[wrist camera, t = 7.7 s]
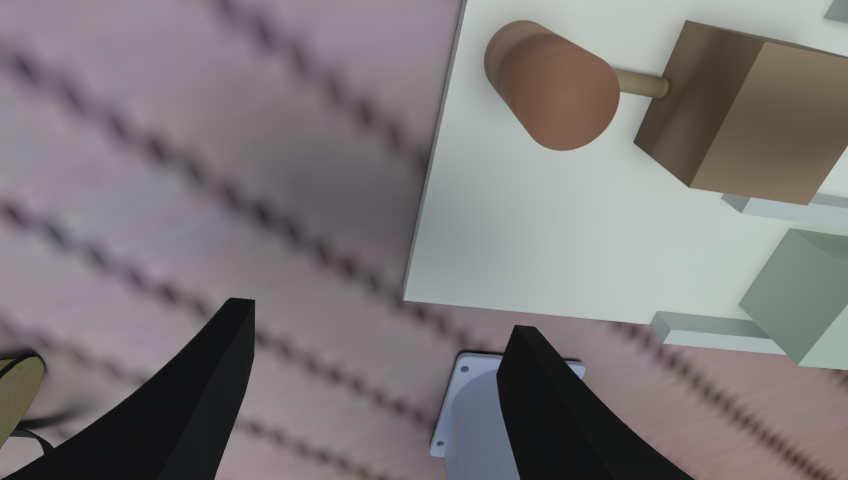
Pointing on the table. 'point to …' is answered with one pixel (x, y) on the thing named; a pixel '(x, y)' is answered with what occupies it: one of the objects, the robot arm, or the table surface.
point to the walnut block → (689, 105)
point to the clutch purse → (19, 395)
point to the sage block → (805, 298)
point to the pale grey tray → (604, 185)
